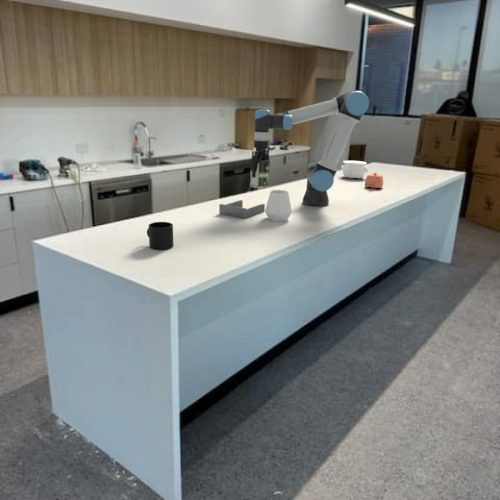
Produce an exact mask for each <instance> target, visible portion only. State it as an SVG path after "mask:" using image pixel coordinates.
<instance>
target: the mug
mask: <svg viewBox="0 0 500 500" xmlns="http://www.w3.org/2000/svg"><path fill="white" fill-rule="evenodd" d="M146 234H147V235H146V236H147V237H148V244H149V245H148V247H149V248H150V249H152V248H153V249H152V250H155V249H156V251H164V250H165V251H166V250H169V249H172V248H173V247H174V224H173V223H172V222H168V221H154V222H151V223H149V224H148V228H147V231H146Z"/></svg>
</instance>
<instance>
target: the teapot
mask: <svg viewBox="0 0 500 500" xmlns="http://www.w3.org/2000/svg"><path fill="white" fill-rule="evenodd" d="M383 186H384V175H382V174H378V173H377V172H373V173H369V174H367V175H366V178H365V180H364V188H368V187H371V188H370V189H375V188H380V189H382V188H383ZM381 187H382V188H381Z"/></svg>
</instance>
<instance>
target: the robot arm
mask: <svg viewBox="0 0 500 500" xmlns="http://www.w3.org/2000/svg"><path fill="white" fill-rule="evenodd" d="M369 105H370V101H369V97H368V96H367V94H366V93H364V92H363V91H360V90H354V91H353V90H352V91H348V92H344V93H343V94H341V95H337V96H334V97H333V98H332V99H331V100H330V99H329V100H325V101H322V102H317V103H315V104H311V105H306V106H302V107H300V108H295V109H292V110H288V111H283V112H278V113H276V114H275V113H274V114H273V113H270V110H269V109H257V110H255V115H254V134H253V135H254V138H253V139H254V140H253V148H255V151H254V150H252V153H251V159H250V163H249V164H250V166H249V170H250V172H251V171H252V183H254V184H257V171H256V170H257V165H258V163H256V161H260V160H270V150H269V149H268V148H269V141H268V140H269V136H270V134H269V133H270V131H269V130H284V131H285V130H291V129H292V128H293V125H296V124H300V123H305V122H309V121H312V120H316V119H320V118H324V117H329V116H331V115H336V116H339V119H338V121H337V124H336V125H335V128H334V131H333V133H332V135H331V137H330V139H329V141H328V143H327V146H326V149H325V151H324V152H323V155H322V158H321V159H320V160H319V161H317V162H316V163H309V164H308V166H307V173H306V174H307V176H306V189H305V193H304V194H303V197H302V204H304V205H306V206H312V207H325V206H328V205H329V204H330V203H329V202H330V199H329V195H328V191H329V190H330V189H331V188H332V187H333V184H334V183H335V182H334V180H335V177H336V174H337V172H338V170H337V165H338V162H339V160H340V158H341V155H342V154H343V152H344V149H345V147H346V145H347V143H348V141H349V138H350V136H351V134H352V131H353V130H354V128H355V126H356V124H357V123H360V122H361V120H362V117H363V115H364V114H365V113H366V112H367V110H369V109H368V108H369ZM270 167H271V164H270V165H269V169H270Z"/></svg>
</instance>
